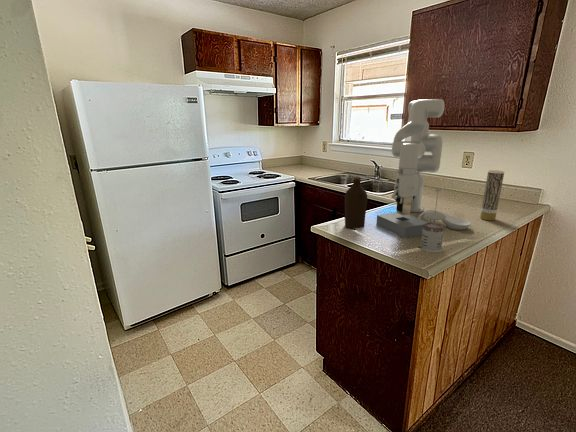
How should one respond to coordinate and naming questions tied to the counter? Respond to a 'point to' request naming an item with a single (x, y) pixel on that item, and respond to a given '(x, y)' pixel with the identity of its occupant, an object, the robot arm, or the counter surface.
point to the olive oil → (355, 205)
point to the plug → (406, 206)
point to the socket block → (401, 224)
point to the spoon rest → (451, 221)
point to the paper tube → (492, 194)
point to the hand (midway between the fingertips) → (403, 210)
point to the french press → (431, 238)
